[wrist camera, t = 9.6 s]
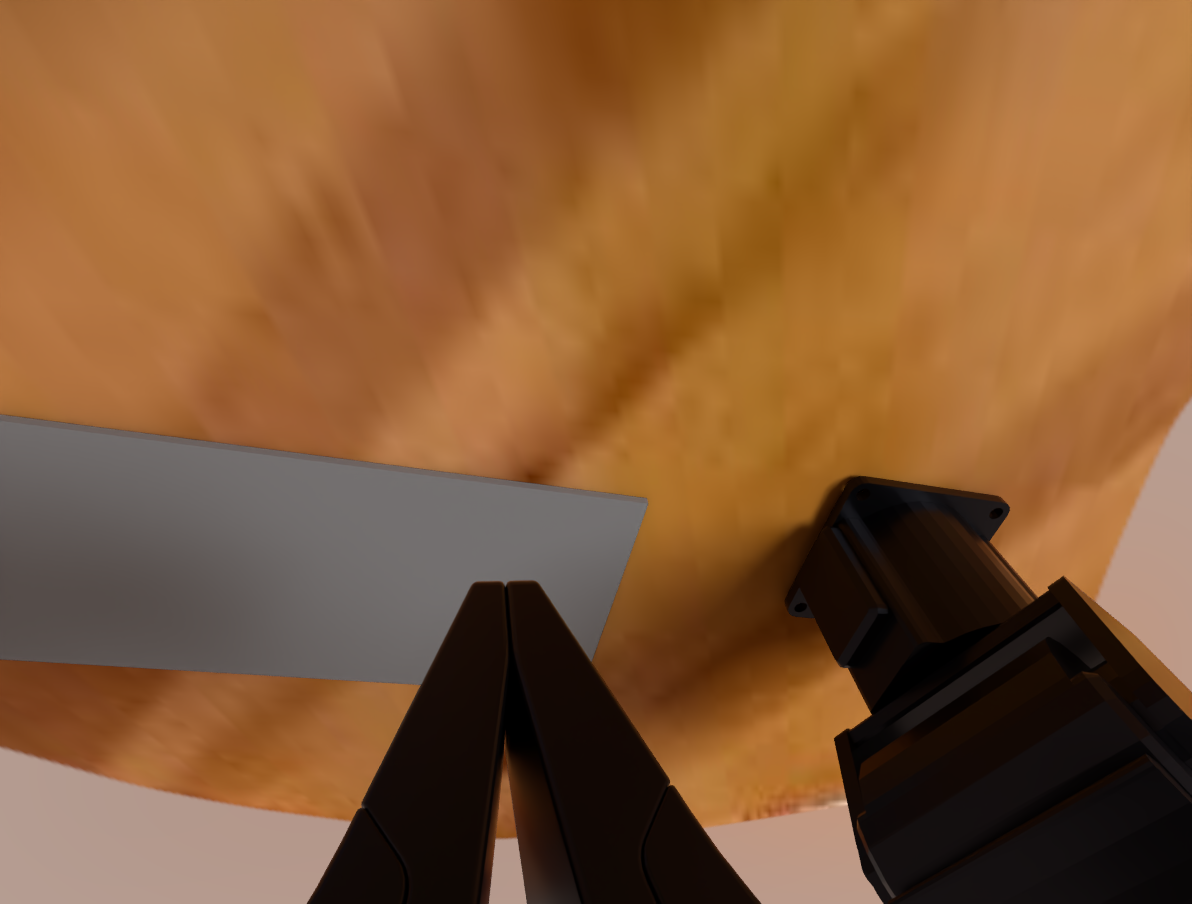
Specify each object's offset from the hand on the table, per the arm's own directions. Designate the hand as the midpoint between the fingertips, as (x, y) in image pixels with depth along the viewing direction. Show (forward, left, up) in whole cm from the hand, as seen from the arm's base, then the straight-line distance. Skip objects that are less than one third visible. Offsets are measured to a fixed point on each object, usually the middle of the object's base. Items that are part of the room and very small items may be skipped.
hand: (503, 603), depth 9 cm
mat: (+8, +12, -12) cm, 19 cm away
